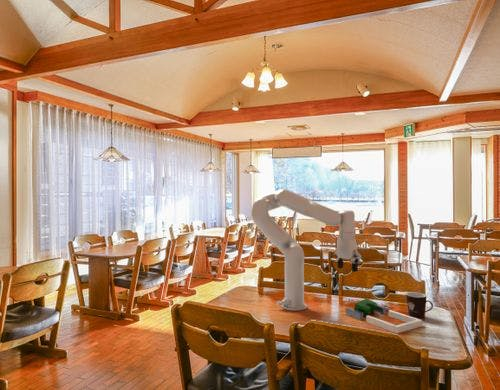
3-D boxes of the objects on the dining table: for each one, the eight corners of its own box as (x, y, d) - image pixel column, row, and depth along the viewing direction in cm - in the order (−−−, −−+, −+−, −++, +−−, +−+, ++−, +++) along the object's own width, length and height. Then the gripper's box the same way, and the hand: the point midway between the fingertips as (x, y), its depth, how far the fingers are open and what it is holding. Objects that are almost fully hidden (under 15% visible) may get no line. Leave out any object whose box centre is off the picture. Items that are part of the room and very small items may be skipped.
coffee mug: (402, 314, 170) (402, 292, 170) (420, 313, 171) (420, 292, 171) (416, 322, 159) (415, 299, 159) (434, 321, 159) (434, 298, 159)
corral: (397, 333, 146) (397, 327, 146) (366, 321, 160) (366, 316, 160) (422, 326, 154) (422, 320, 154) (390, 315, 168) (390, 310, 168)
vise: (360, 320, 162) (360, 313, 163) (345, 314, 170) (345, 308, 170) (393, 311, 174) (393, 305, 174) (378, 306, 182) (378, 300, 182)
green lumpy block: (364, 326, 167) (365, 311, 163) (353, 320, 171) (353, 305, 167) (377, 311, 174) (378, 296, 170) (366, 305, 178) (366, 291, 174)
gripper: (329, 234, 187) (329, 267, 187) (354, 237, 172) (355, 273, 172) (340, 233, 191) (340, 266, 190) (365, 236, 176) (366, 271, 175)
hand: (347, 269), depth 181 cm, fingers open, 9 cm apart
